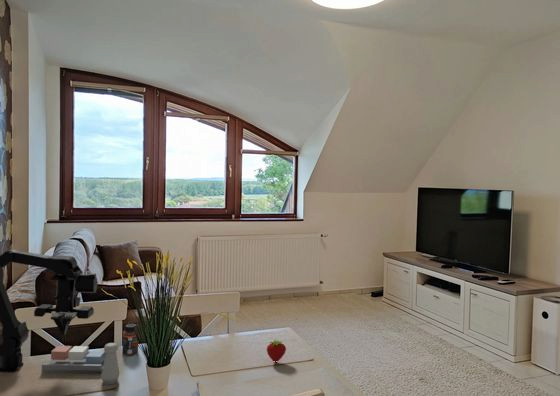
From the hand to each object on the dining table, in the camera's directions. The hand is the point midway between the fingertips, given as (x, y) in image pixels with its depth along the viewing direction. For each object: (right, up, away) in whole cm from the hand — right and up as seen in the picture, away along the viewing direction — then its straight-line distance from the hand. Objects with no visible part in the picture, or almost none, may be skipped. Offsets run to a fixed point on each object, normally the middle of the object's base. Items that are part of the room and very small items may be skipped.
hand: (63, 334), depth 153 cm
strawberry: (+76, -15, +11) cm, 79 cm away
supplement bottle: (+19, -12, +14) cm, 27 cm away
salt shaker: (+21, -13, -9) cm, 26 cm away
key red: (-1, -8, 0) cm, 8 cm away
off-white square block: (+5, -8, +1) cm, 10 cm away
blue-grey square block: (+11, -10, +1) cm, 15 cm away
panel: (+5, -12, +1) cm, 13 cm away
